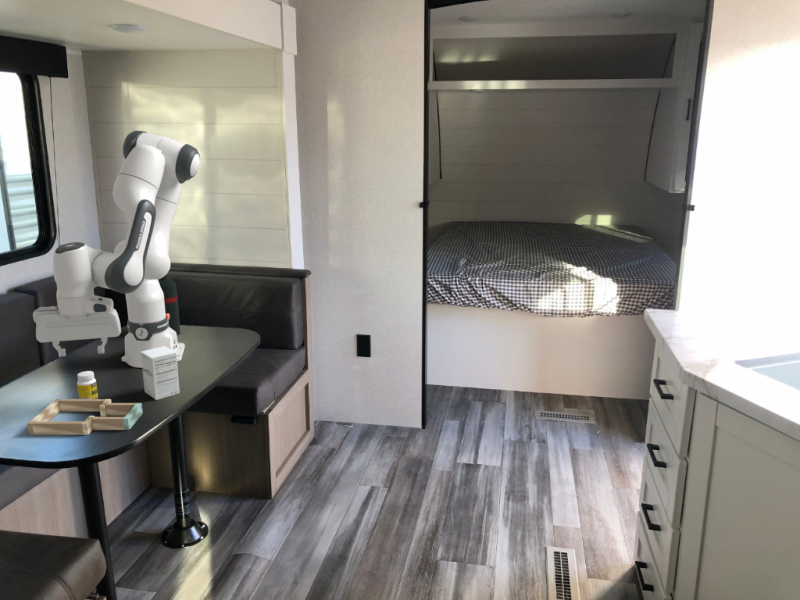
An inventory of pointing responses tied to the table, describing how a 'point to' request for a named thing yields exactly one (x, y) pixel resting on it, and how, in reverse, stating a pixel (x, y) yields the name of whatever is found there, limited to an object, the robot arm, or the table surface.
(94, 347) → the table surface
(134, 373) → the table surface
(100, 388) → the table surface
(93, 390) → the supplement bottle
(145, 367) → the supplement box
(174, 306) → the wine bottle
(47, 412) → the keyhole corral
